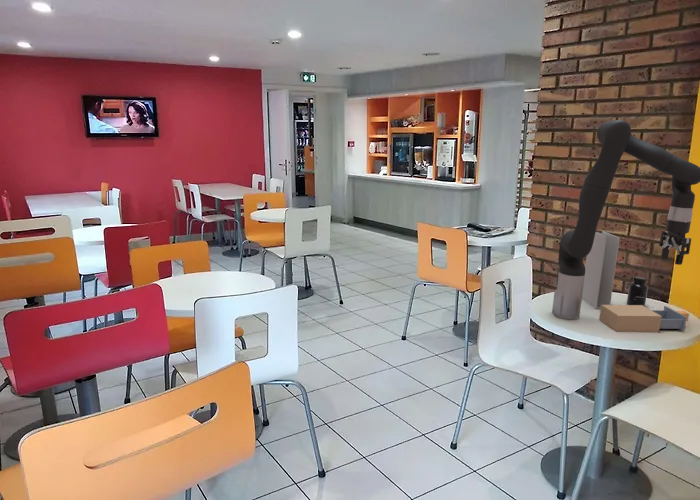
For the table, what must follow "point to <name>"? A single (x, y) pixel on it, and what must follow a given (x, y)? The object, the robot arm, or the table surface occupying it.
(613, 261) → the grey standing panel
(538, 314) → the table surface
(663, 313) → the tray
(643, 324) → the sleeve
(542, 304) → the table surface
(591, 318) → the table surface
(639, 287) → the supplement bottle
